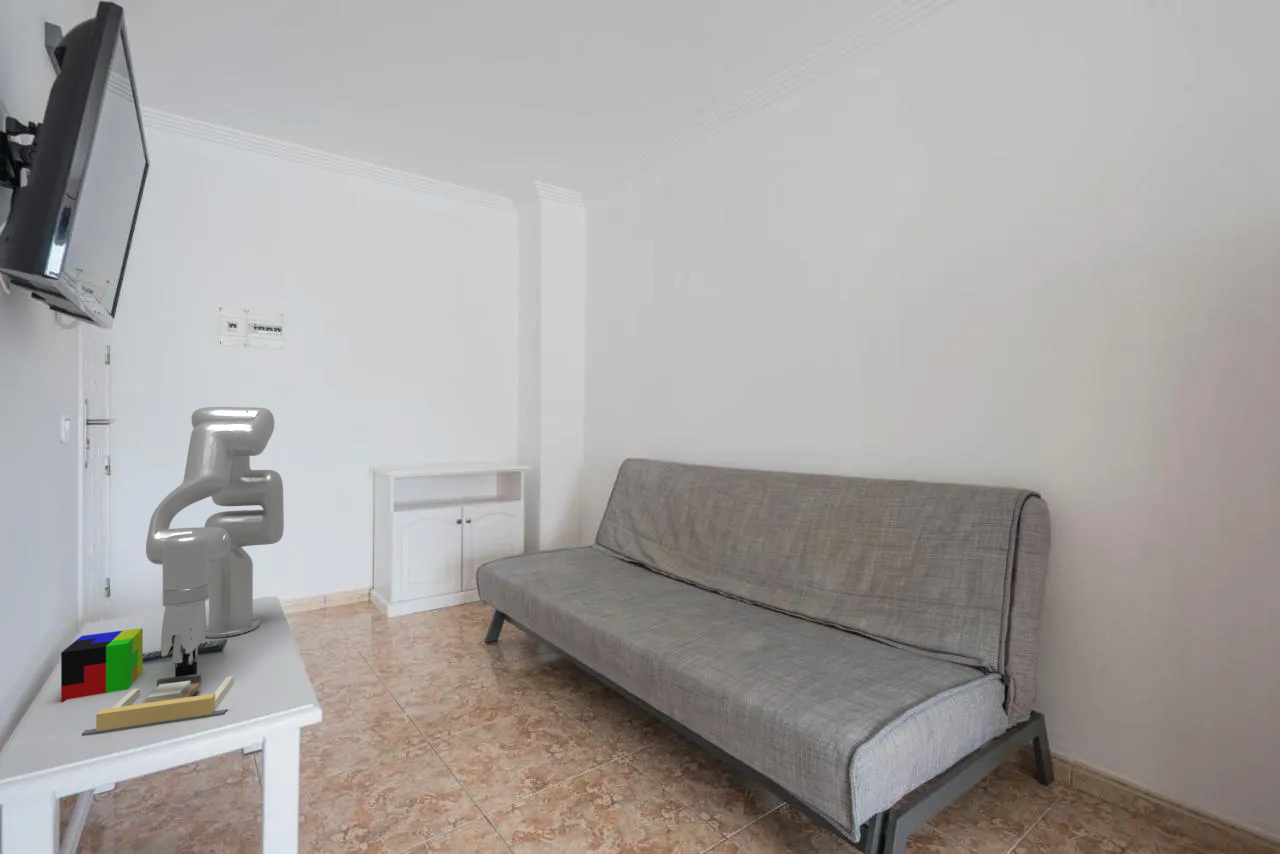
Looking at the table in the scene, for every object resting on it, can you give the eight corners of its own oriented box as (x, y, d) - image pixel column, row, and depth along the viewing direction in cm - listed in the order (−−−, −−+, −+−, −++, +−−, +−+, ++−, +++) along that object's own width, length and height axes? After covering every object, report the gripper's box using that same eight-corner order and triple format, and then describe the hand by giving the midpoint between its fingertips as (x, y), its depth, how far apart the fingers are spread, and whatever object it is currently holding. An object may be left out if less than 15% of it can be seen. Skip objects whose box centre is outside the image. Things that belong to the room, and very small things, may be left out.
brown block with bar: (158, 696, 114) (158, 678, 113) (201, 691, 116) (201, 673, 116) (137, 718, 105) (137, 699, 105) (184, 712, 108) (184, 693, 108)
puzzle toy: (81, 682, 121) (81, 635, 121) (142, 673, 126) (142, 628, 126) (61, 703, 112) (61, 652, 112) (127, 692, 117) (127, 643, 117)
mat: (147, 674, 125) (147, 659, 125) (260, 660, 132) (260, 646, 132) (81, 735, 100) (81, 716, 100) (224, 714, 108) (224, 696, 108)
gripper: (178, 586, 123) (178, 671, 123) (147, 607, 109) (147, 702, 109) (220, 583, 126) (219, 666, 126) (194, 603, 112) (194, 696, 112)
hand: (186, 682), depth 118 cm, fingers closed
